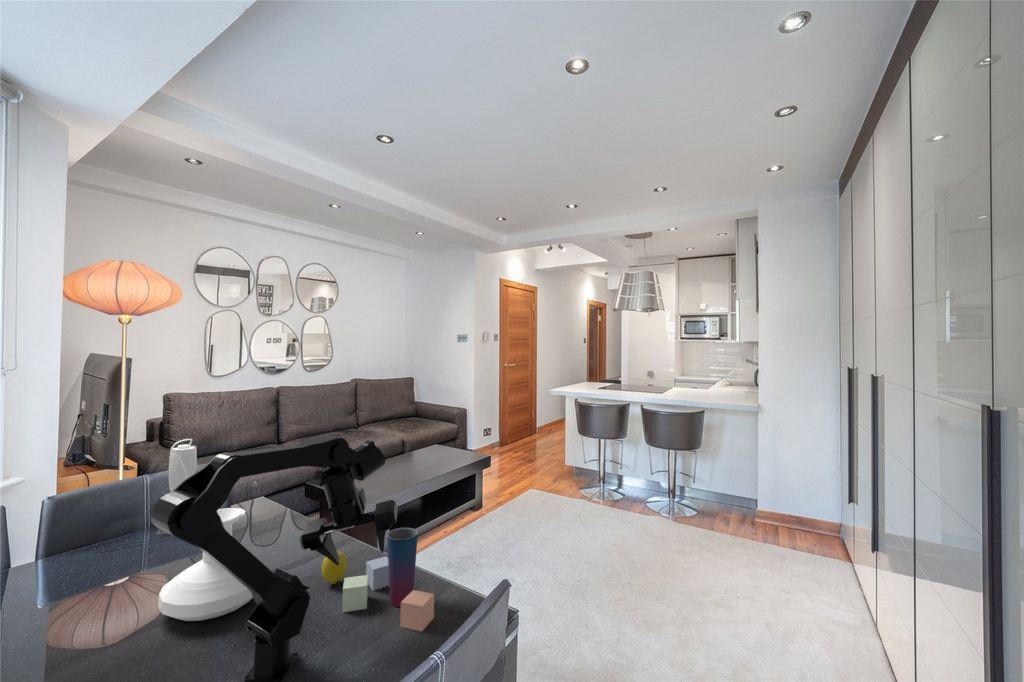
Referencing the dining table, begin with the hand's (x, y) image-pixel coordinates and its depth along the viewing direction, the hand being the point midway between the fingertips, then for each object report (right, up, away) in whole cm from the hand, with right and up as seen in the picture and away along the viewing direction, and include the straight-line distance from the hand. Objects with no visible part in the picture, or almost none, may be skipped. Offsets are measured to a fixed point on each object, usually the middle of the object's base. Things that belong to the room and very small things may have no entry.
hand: (360, 557), depth 92 cm
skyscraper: (-75, -14, +46) cm, 89 cm away
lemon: (-11, -13, +13) cm, 21 cm away
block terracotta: (+12, -12, -2) cm, 18 cm away
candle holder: (-34, -13, +4) cm, 36 cm away
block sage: (-3, -13, +4) cm, 14 cm away
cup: (+7, -13, +6) cm, 16 cm away
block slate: (0, -13, +13) cm, 19 cm away
